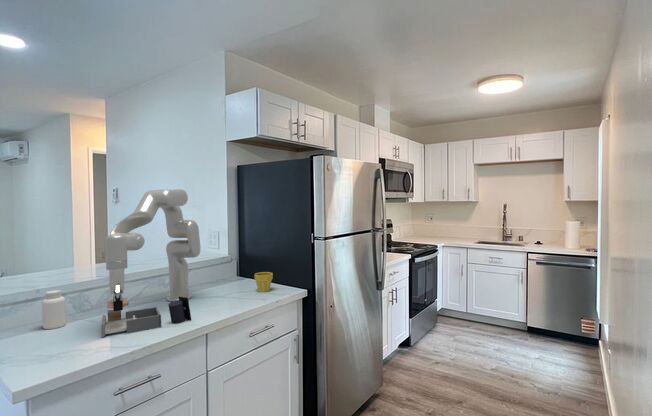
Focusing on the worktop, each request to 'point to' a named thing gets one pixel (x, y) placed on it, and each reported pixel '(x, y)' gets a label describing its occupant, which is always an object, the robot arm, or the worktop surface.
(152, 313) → the housing
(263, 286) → the plant pot
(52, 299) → the pill bottle
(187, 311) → the speaker
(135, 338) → the worktop surface
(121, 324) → the tray
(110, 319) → the brown wooden cube
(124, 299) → the tan domed disc
